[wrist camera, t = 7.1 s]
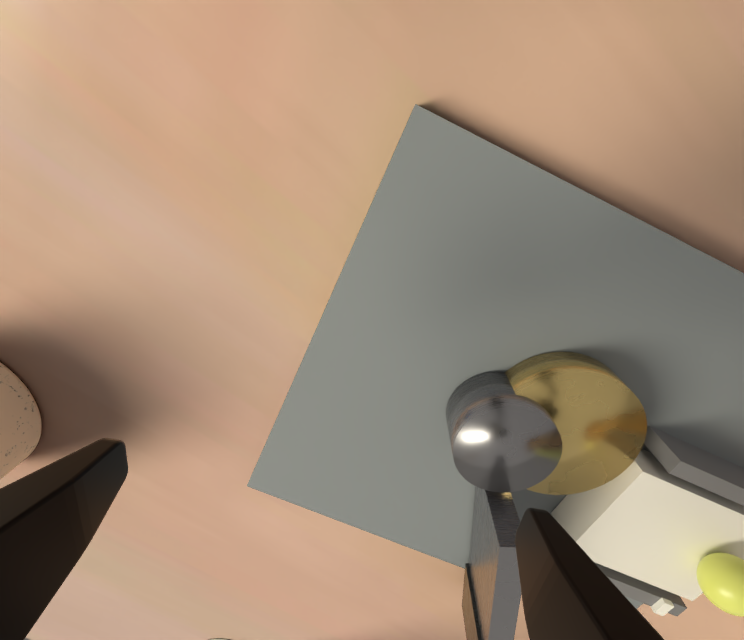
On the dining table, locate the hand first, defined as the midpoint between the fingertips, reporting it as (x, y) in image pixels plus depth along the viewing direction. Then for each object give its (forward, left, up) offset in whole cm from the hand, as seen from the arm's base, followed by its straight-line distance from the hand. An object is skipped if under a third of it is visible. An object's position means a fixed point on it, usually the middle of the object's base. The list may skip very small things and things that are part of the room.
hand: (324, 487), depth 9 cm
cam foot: (+4, +19, -11) cm, 22 cm away
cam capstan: (+7, +13, -11) cm, 18 cm away
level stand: (+2, +11, -12) cm, 17 cm away
